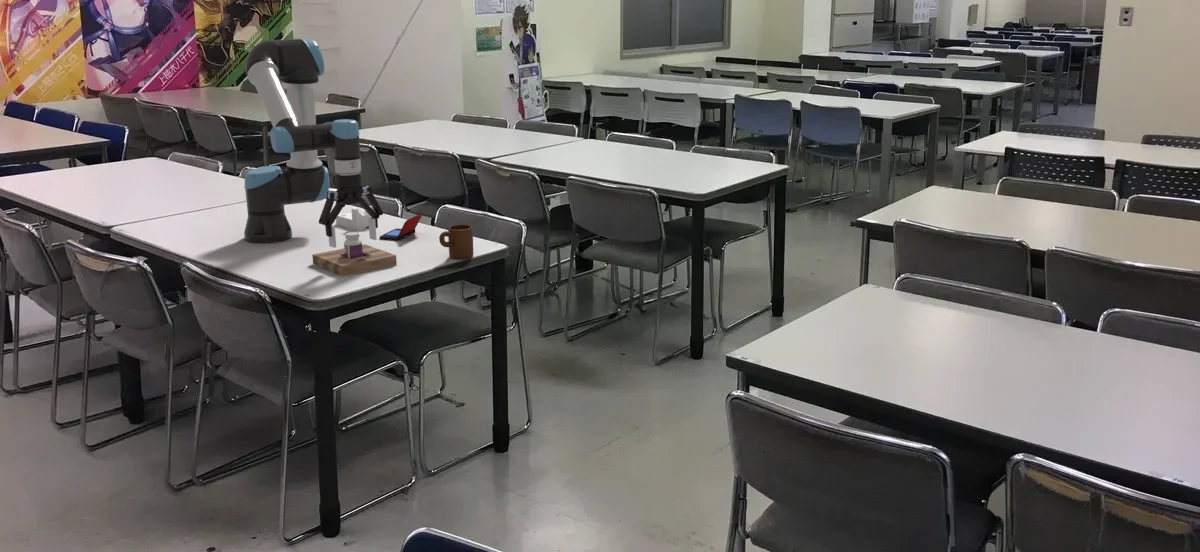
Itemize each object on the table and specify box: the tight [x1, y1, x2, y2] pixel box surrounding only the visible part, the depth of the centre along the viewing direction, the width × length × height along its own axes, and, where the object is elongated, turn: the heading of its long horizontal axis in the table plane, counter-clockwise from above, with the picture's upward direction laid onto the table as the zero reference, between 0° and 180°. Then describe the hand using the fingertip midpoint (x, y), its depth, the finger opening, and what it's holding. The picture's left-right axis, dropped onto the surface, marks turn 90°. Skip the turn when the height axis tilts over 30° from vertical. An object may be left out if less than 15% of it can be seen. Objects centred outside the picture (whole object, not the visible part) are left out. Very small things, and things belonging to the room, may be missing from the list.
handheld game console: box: [379, 212, 423, 242], centre depth 325 cm, size 12×11×7 cm
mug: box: [439, 224, 474, 260], centre depth 299 cm, size 12×8×9 cm, turn 138°
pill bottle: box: [343, 231, 363, 259], centre depth 291 cm, size 5×5×10 cm
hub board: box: [312, 244, 398, 277], centre depth 292 cm, size 18×18×3 cm
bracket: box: [335, 205, 374, 231], centre depth 340 cm, size 13×7×8 cm, turn 47°
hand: (353, 242), depth 290 cm, fingers open, 13 cm apart
